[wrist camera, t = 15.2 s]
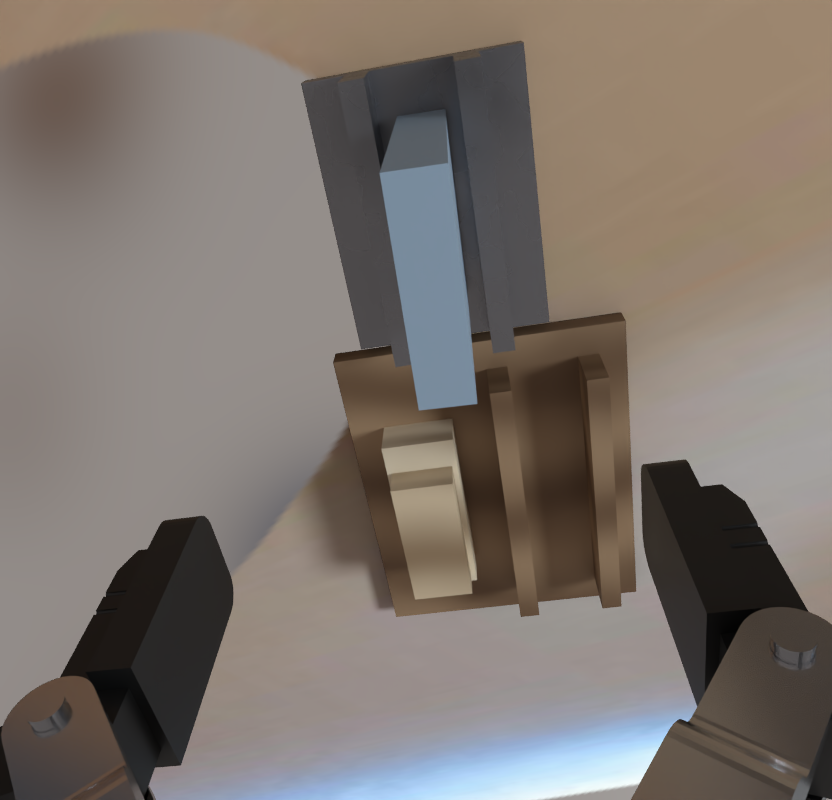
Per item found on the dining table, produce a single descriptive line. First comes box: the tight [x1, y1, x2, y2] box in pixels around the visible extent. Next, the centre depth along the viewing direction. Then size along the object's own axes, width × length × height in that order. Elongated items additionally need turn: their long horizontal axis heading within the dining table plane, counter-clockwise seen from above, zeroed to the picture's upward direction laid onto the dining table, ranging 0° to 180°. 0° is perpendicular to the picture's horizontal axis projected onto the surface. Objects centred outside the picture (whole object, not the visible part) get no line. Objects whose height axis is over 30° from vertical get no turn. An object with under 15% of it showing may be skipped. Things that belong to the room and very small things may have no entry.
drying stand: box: [301, 41, 549, 367], centre depth 32 cm, size 12×9×4 cm
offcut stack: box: [381, 419, 477, 600], centre depth 39 cm, size 9×4×4 cm, turn 10°
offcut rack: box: [333, 313, 636, 617], centre depth 39 cm, size 17×14×4 cm
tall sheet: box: [380, 109, 477, 410], centre depth 28 cm, size 8×2×10 cm, turn 8°
